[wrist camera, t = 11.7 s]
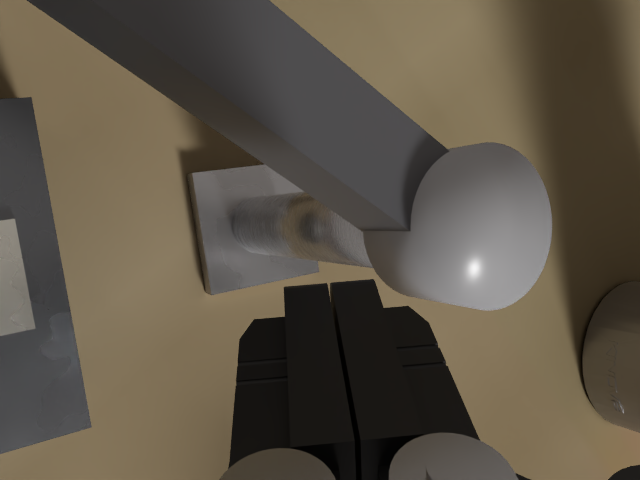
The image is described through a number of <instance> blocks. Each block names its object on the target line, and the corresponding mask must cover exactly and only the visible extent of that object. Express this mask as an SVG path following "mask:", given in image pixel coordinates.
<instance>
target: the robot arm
mask: <svg viewBox="0 0 640 480" xmlns="http://www.w3.org/2000/svg"><path fill="white" fill-rule="evenodd" d="M330 299H331V302H330ZM284 302H285V317H276V318H265V319H254V320H253V322H252V323H251V324H250V326H249V327H248V329H247V330H246V331H245V333H244V334H243V335H242V337H241V338H240V341H239V353H238V366H237V378H236V384H237V386H236V390H235V402H234V414H233V427H232V439H231V451H230V462H229V468H228V470H227V471H226V472H225V473H224V474H223V476H222V477H221V478H220V480H530V479H527V478H525V477H523V476H521V475H519V474H516V473H515V472H514V471H513V469H512V468H511V466H510V465H509V463H508V462H507V461H506V459H505V458H504V457H503V456H502V455H501V454H500V453H498V452H497V451H496V450H495V449H493V448H492V447H490V446H489V445H487V444H485V443H484V442H482V441H480V439H479V437H478V435H477V433H476V430H475V428H474V426H473V424H472V421H471V419H470V417H469V414H468V412H467V410H466V407H465V405H464V403H463V401H462V398H461V396H460V394H459V391H458V389H457V387H456V384H455V382H454V380H453V378H452V375H451V373H450V371H449V368H448V366H446V361H445V359H444V357H443V355H442V352H441V350H440V348H438V343H437V341H436V338H435V336H434V334H433V332H432V329H431V327H430V325H429V323H428V322H427V321H426V320H425V319H424V318H422V317H421V316H420V315H419V314H417V313H416V312H415V311H414V310H413V309H411V308H410V307H409V306H403V307H391V308H383V305H382V302H381V299H380V296H379V293H378V289H377V286H376V283H375V281H374V280H373V279H370V280H358V281H346V282H334V283H330V296H329V291H328V285H327V283H324V284H312V285H300V286H288V287H284ZM582 357H583V377H584V382H585V388H586V391H587V393H588V396H589V399H590V401H591V403H592V405H593V406H594V408H595V409H596V411H597V412H598V413H599V414H600V415H601V416H602V417H603V418H604V419H605V420H607V421H609V422H611V423H613V424H615V425H618V426H621V427H624V428H627V429H630V430H633V431H636V432H639V433H640V282H635V281H630V282H627V283H624V284H621V285H619V286H618V287H616V288H614V289H613V290H611V291H610V292H609V293H608V294H607V295H606V296H605V297H604V298H603V299H602V301H601V303H600V304H599V306H598V307H597V309H596V310H595V312H594V314H593V316H592V319H591V321H590V323H589V326H588V329H587V333H586V337H585V340H584V348H583V356H582ZM608 480H640V465H636V466H630V467H627V468H624V469H621V470H620V471H618V472H616V473H615V474H613V475H612V476H611V477H610V478H609V479H608Z"/></svg>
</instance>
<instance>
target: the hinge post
mask: <svg viewBox="0 0 640 480" xmlns="http://www.w3.org/2000/svg"><path fill="white" fill-rule="evenodd" d="M187 177H188V184H189V190H190V196H191V203H192V209H193V215H194V221H195V228H196V234H197V240H198V247H199V253H200V259H201V266H202V272H203V278H204V285H205V291H206V293H207V294H210V295H214V294H219V293H223V292H228V291H233V290H237V289H242V288H247V287H251V286H256V285H260V284H265V283H270V282H274V281H279V280H284V279H288V278H293V277H297V276H302V275H307V274H311V273H316V272H319V268H318V261H321V262H329V263H337V264H345V265H353V266H361V267H369V268H373V266H372V264H371V263H370V260H369V258H368V255H367V252H366V248H365V245H364V238H363V232H362V231H361V230H359V229H358V228H356V227H355V226H353V225H352V224H351V223H349V222H348V221H346V220H345V219H343V218H342V217H340V216H339V215H338V214H336V213H335V212H333V211H332V210H330V209H329V208H327V207H326V206H324V205H323V204H322V203H320V202H319V201H317V200H316V199H314V198H313V197H311V196H310V195H309V194H307V193H306V192H304V191H303V190H301V189H300V188H298V187H297V186H295V185H294V184H293V183H291V182H290V181H288V180H287V179H285V178H284V177H282V176H281V175H280V174H278V173H277V172H275V171H274V170H272V169H271V168H269V167H268V166H266V165H256V166H247V167H239V168H230V169H222V170H213V171H205V172H196V173H190V174H187Z"/></svg>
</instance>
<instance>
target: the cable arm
mask: <svg viewBox="0 0 640 480" xmlns="http://www.w3.org/2000/svg"><path fill="white" fill-rule="evenodd" d="M27 1H29V2H30V3H32V4H33V5H34V6H36V7H37V8H39V9H40V10H42V11H43V12H45V13H46V14H47V15H49V16H50V17H52V18H53V19H55V20H56V21H58V22H59V23H61V24H62V25H63V26H65V27H66V28H68V29H69V30H71V31H72V32H74V33H75V34H76V35H78V36H79V37H81V38H82V39H84V40H85V41H87V42H88V43H90V44H91V45H92V46H94V47H95V48H97V49H98V50H100V51H101V52H103V53H104V54H105V55H107V56H108V57H110V58H111V59H113V60H114V61H116V62H117V63H119V64H120V65H121V66H123V67H124V68H126V69H127V70H129V71H130V72H132V73H133V74H134V75H136V76H137V77H139V78H140V79H142V80H143V81H145V82H146V83H148V84H149V85H150V86H152V87H153V88H155V89H156V90H158V91H159V92H161V93H162V94H163V95H165V96H166V97H168V98H169V99H171V100H172V101H174V102H175V103H177V104H178V105H179V106H181V107H182V108H184V109H185V110H187V111H188V112H190V113H191V114H192V115H194V116H195V117H197V118H198V119H200V120H201V121H203V122H204V123H206V124H207V125H208V126H210V127H211V128H213V129H214V130H216V131H217V132H219V133H220V134H222V135H223V136H224V137H226V138H227V139H229V140H230V141H232V142H233V143H235V144H236V145H237V146H239V147H240V148H242V149H243V150H245V151H246V152H248V153H249V154H251V155H252V156H253V157H255V158H256V159H258V160H259V161H261V162H262V163H264V164H265V165H266V166H268V167H269V168H271V169H272V170H274V171H275V172H277V173H278V174H280V175H281V176H282V177H284V178H285V179H287V180H288V181H290V182H291V183H293V184H294V185H295V186H297V187H298V188H300V189H301V190H303V191H304V192H306V193H307V194H309V195H310V196H311V197H313V198H314V199H316V200H317V201H319V202H320V203H322V204H323V205H324V206H326V207H327V208H329V209H330V210H332V211H333V212H335V213H336V214H338V215H339V216H340V217H342V218H343V219H345V220H346V221H348V222H349V223H351V224H352V225H353V226H355V227H356V228H358V229H359V230H361V231H362V232H363V238H364V245H365V248H366V252H367V255H368V258H369V260H370V263H371V264H372V266H373V268H374V270H375V272H376V273H377V274H378V276H379V277H380V278H381V279H382V280H383V281H384V282H385V283H386V284H387V285H388V286H389V287H391V288H392V289H393V290H395V291H397V292H399V293H400V294H403V295H406V296H410V297H415V298H420V299H426V300H431V301H436V302H442V303H447V304H452V305H458V306H463V307H468V308H474V309H479V310H497V309H501V308H504V307H507V306H509V305H511V304H513V303H515V302H516V301H518V300H519V299H520V298H522V297H523V296H524V295H525V294H526V293H527V292H528V291H529V290H530V289H531V287H532V286H533V285H534V284H535V282H536V280H537V279H538V277H539V276H540V274H541V272H542V270H543V268H544V265H545V262H546V260H547V257H548V253H549V249H550V243H551V236H552V215H551V207H550V202H549V198H548V194H547V191H546V188H545V186H544V184H543V181H542V179H541V177H540V176H539V174H538V172H537V170H536V169H535V168H534V166H533V165H532V164H531V163H530V162H529V161H528V159H527V158H526V157H525V156H523V155H522V154H521V153H519V152H518V151H516V150H515V149H513V148H511V147H509V146H506V145H503V144H499V143H480V144H474V145H468V146H462V147H457V148H451V149H446V148H445V147H444V146H443V145H442V144H440V143H439V142H438V141H437V140H436V139H434V138H433V137H432V136H431V135H430V134H428V133H427V132H426V131H425V130H424V129H422V128H421V127H420V126H419V125H418V124H416V123H415V122H414V121H413V120H412V119H410V118H409V117H408V116H407V115H406V114H404V113H403V112H402V111H401V110H400V109H398V108H397V107H396V106H395V105H394V104H393V103H391V102H390V101H389V100H388V99H387V98H385V97H384V96H383V95H382V94H381V93H379V92H378V91H377V90H376V89H375V88H373V87H372V86H371V85H370V84H369V83H367V82H366V81H365V80H364V79H363V78H361V77H360V76H359V75H358V74H357V73H355V72H354V71H353V70H352V69H351V68H349V67H348V66H347V65H346V64H345V63H343V62H342V61H341V60H340V59H339V58H337V57H336V56H335V55H334V54H333V53H331V52H330V51H329V50H328V49H327V48H325V47H324V46H323V45H322V44H321V43H320V42H318V41H317V40H316V39H315V38H314V37H312V36H311V35H310V34H309V33H308V32H306V31H305V30H304V29H303V28H302V27H300V26H299V25H298V24H297V23H296V22H294V21H293V20H292V19H291V18H290V17H288V16H287V15H286V14H285V13H284V12H282V11H281V10H280V9H279V8H278V7H276V6H275V5H274V4H273V3H272V2H270V1H269V0H27Z"/></svg>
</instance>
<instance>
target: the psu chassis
mask: <svg viewBox="0 0 640 480" xmlns="http://www.w3.org/2000/svg"><path fill="white" fill-rule="evenodd" d="M90 427H91V422H90V416H89V411H88V405H87V400H86V394H85V389H84V383H83V378H82V372H81V367H80V361H79V356H78V350H77V345H76V339H75V334H74V328H73V323H72V317H71V312H70V306H69V301H68V295H67V290H66V284H65V279H64V274H63V268H62V263H61V257H60V252H59V246H58V241H57V235H56V230H55V224H54V219H53V213H52V208H51V202H50V197H49V191H48V186H47V180H46V175H45V169H44V164H43V158H42V153H41V147H40V142H39V136H38V131H37V126H36V120H35V115H34V109H33V104H32V98H31V97H27V98H8V99H0V454H2V453H5V452H9V451H12V450H16V449H19V448H22V447H26V446H29V445H33V444H36V443H39V442H43V441H46V440H50V439H53V438H56V437H60V436H63V435H67V434H70V433H73V432H77V431H80V430H84V429H87V428H90Z"/></svg>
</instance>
